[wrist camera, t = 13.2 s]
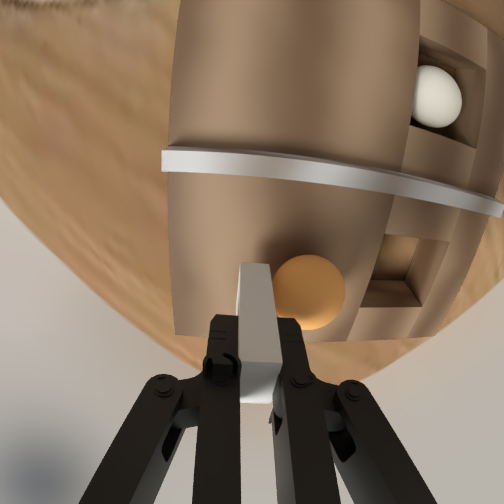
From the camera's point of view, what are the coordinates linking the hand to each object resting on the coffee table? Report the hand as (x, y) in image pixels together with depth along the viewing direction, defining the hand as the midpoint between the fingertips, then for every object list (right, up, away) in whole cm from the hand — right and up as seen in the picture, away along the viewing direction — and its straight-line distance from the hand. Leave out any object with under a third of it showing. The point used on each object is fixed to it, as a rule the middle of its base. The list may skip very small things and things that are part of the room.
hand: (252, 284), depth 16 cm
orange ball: (+3, 0, 0) cm, 3 cm away
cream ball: (+11, +11, -2) cm, 16 cm away
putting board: (+6, +7, +2) cm, 10 cm away
